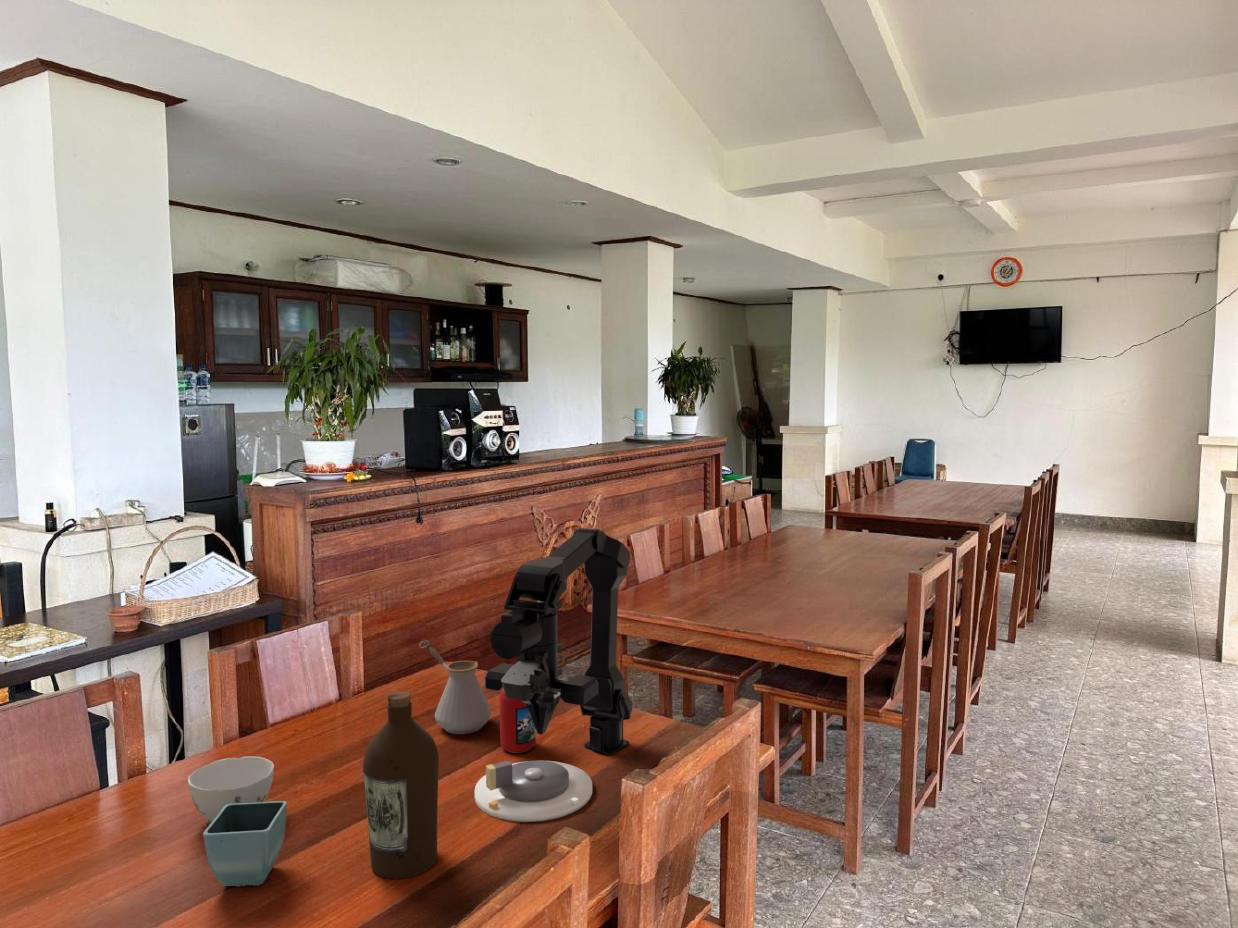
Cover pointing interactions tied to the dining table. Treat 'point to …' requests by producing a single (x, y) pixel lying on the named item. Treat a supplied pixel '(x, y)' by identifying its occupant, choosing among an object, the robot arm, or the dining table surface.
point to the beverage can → (516, 725)
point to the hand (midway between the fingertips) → (541, 733)
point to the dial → (527, 780)
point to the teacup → (230, 783)
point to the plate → (537, 810)
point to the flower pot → (245, 841)
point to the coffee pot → (461, 697)
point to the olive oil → (401, 794)
